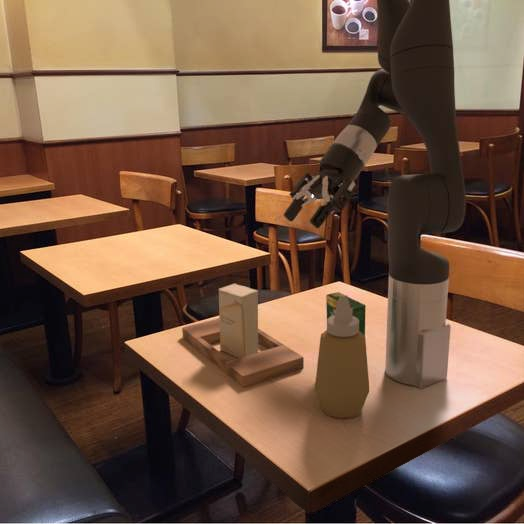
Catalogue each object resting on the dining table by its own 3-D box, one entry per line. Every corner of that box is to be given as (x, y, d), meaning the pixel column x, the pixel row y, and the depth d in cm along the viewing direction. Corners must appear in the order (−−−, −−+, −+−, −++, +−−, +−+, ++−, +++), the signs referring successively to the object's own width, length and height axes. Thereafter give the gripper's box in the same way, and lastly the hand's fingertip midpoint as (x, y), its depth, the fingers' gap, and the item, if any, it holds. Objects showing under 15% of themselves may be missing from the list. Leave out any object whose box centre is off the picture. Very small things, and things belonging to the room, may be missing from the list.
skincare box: (219, 350, 106) (216, 288, 103) (236, 342, 110) (234, 282, 106) (243, 360, 102) (240, 296, 99) (260, 351, 105) (258, 289, 102)
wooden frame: (303, 367, 99) (303, 357, 98) (243, 387, 93) (243, 376, 92) (236, 323, 119) (235, 314, 118) (182, 337, 113) (182, 327, 112)
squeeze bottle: (336, 389, 92) (337, 283, 86) (379, 407, 86) (383, 295, 81) (303, 410, 86) (303, 297, 81) (347, 430, 81) (350, 311, 75)
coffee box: (324, 363, 100) (325, 293, 96) (338, 359, 101) (339, 290, 98) (350, 383, 93) (352, 308, 89) (365, 379, 94) (367, 305, 91)
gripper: (314, 140, 113) (267, 205, 110) (362, 142, 101) (310, 214, 98) (336, 165, 117) (290, 228, 114) (384, 170, 105) (335, 240, 102)
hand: (300, 222), depth 106 cm, fingers open, 8 cm apart
